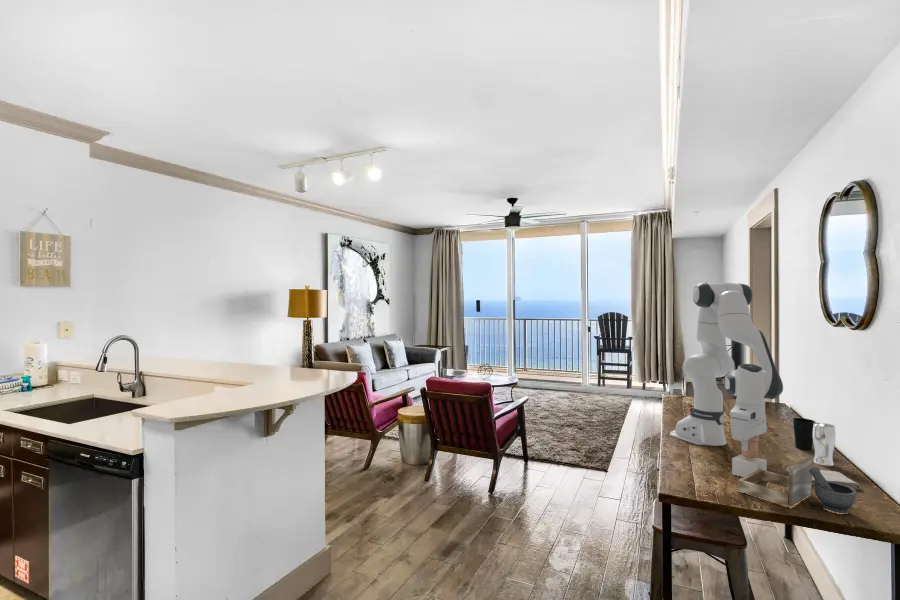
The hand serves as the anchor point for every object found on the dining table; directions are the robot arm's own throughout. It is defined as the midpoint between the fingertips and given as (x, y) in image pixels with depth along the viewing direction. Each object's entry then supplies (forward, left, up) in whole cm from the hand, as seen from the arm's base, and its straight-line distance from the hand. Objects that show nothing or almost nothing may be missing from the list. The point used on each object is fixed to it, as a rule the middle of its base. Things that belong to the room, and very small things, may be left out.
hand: (749, 448), depth 166 cm
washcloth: (+16, +16, -10) cm, 25 cm away
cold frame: (+11, -10, -10) cm, 18 cm away
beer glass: (+11, +37, -10) cm, 40 cm away
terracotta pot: (0, 0, -3) cm, 3 cm away
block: (0, 0, -10) cm, 10 cm away
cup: (0, +52, -10) cm, 53 cm away
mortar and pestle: (+26, -9, -10) cm, 29 cm away
